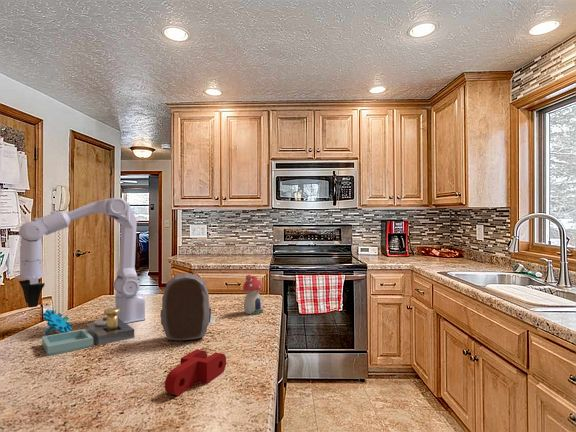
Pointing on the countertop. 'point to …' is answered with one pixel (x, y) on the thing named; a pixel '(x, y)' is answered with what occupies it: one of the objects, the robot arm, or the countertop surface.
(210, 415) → the countertop surface
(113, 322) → the pin
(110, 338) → the grey flat block
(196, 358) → the mechanical linkage
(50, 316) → the gear
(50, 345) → the pin tray
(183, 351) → the countertop surface
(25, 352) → the countertop surface
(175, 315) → the small grey backpack
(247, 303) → the decorative ornament
